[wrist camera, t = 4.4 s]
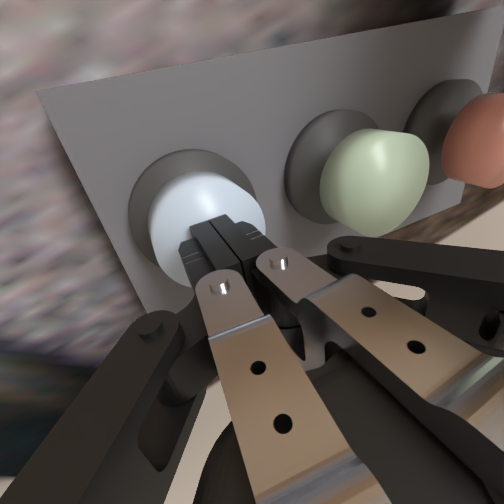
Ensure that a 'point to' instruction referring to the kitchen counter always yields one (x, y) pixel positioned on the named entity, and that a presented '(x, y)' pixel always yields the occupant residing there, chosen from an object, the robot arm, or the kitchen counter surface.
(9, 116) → the kitchen counter surface
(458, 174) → the brick button
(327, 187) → the sage button
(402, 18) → the kitchen counter surface
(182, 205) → the white button
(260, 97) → the panel
